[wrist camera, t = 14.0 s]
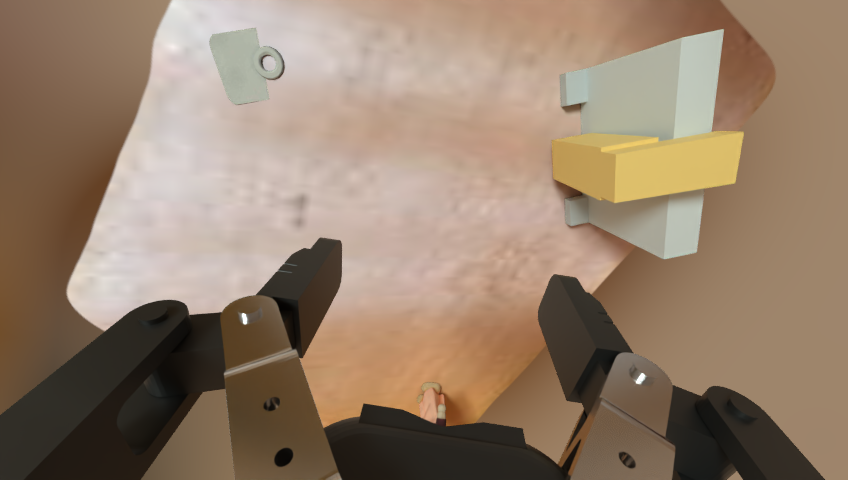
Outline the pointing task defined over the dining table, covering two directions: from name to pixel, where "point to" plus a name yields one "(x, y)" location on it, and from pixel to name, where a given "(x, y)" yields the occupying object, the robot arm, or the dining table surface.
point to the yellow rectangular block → (645, 164)
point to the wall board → (648, 133)
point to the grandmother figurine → (432, 404)
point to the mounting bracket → (244, 65)
